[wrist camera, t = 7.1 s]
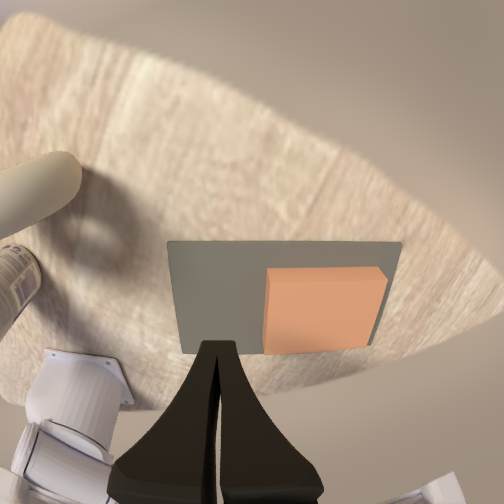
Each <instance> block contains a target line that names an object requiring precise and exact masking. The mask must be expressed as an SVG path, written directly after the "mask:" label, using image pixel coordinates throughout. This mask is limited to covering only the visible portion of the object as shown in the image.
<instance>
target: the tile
mask: <svg viewBox="0 0 504 504" xmlns="http://www.w3.org/2000/svg"><path fill="white" fill-rule="evenodd" d="M387 282H388V279H387V278H386V276H385V275H384V274H383V273H382V271H381V270H380V269H379V267H328V268H267V276H266V292H265V307H264V322H263V336H262V340H263V347H264V355H273V354H293V353H308V352H321V351H333V350H343V349H352V348H361V347H366V346H367V343H368V340H369V337H370V335H371V332H372V329H373V326H374V323H375V320H376V317H377V314H378V311H379V308H380V305H381V302H382V299H383V295H384V292H385V289H386V285H387Z"/></svg>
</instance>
